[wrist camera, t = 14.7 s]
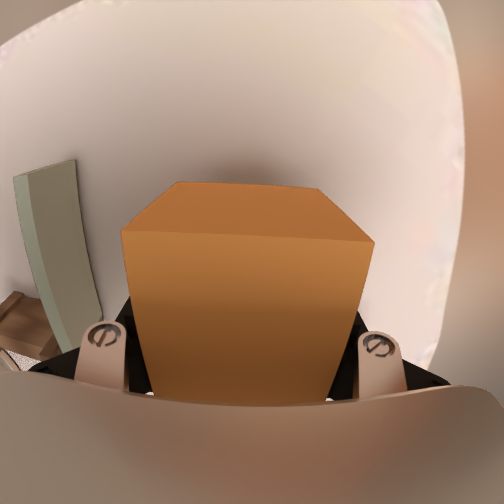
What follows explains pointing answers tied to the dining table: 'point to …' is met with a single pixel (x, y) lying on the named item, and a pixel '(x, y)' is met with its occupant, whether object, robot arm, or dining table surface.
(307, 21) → the dining table surface
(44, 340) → the wall frame
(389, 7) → the dining table surface
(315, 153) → the dining table surface
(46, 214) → the door
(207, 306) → the orange rectangular block
